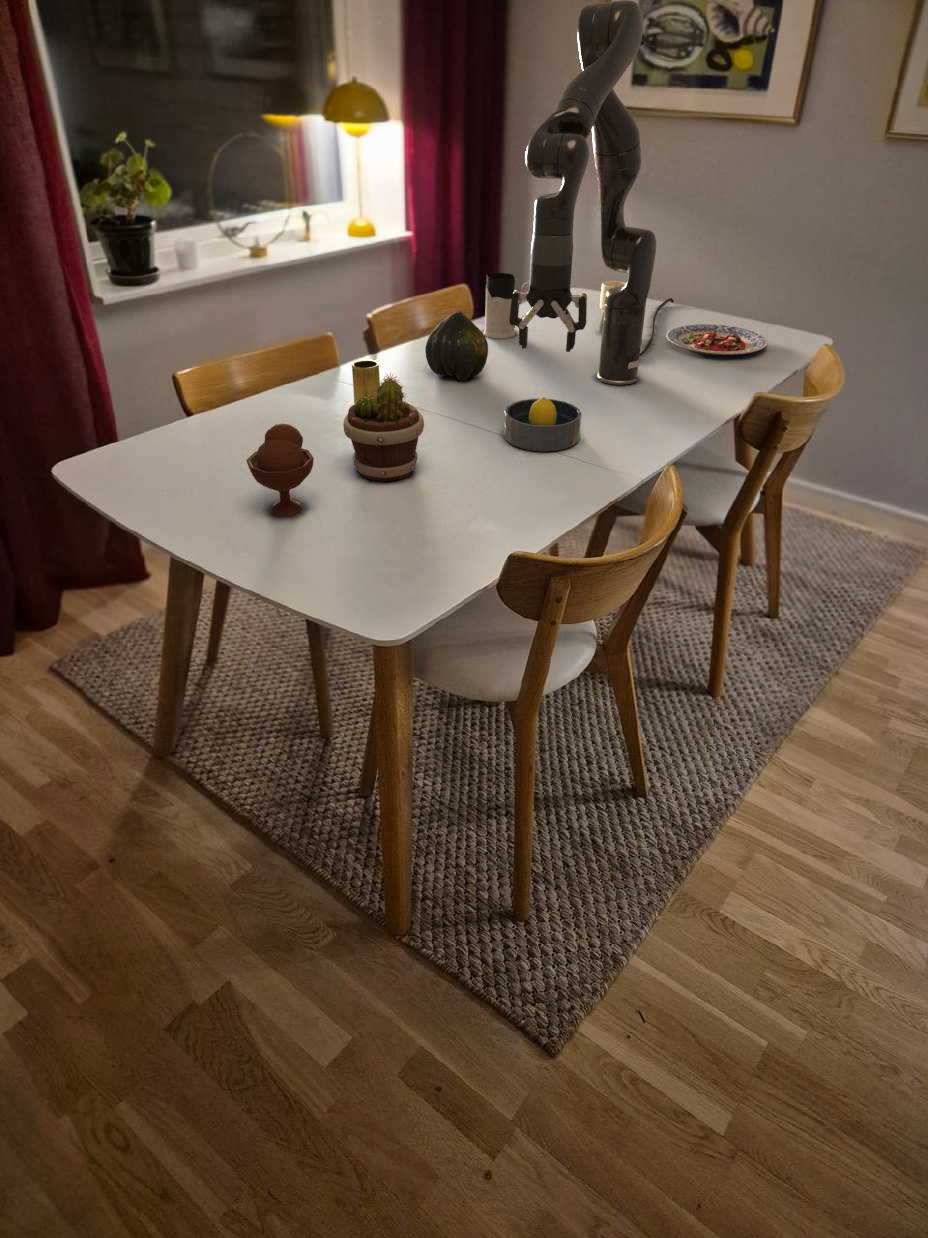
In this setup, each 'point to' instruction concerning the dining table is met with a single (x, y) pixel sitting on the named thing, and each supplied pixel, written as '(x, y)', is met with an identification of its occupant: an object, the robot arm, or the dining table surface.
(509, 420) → the bowl
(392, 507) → the dining table surface
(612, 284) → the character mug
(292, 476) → the ice cream bowl
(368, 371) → the vase
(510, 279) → the glass holder
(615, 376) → the robot arm
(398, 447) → the flowerpot
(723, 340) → the ceramic plate
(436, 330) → the squash
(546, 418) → the lemon
